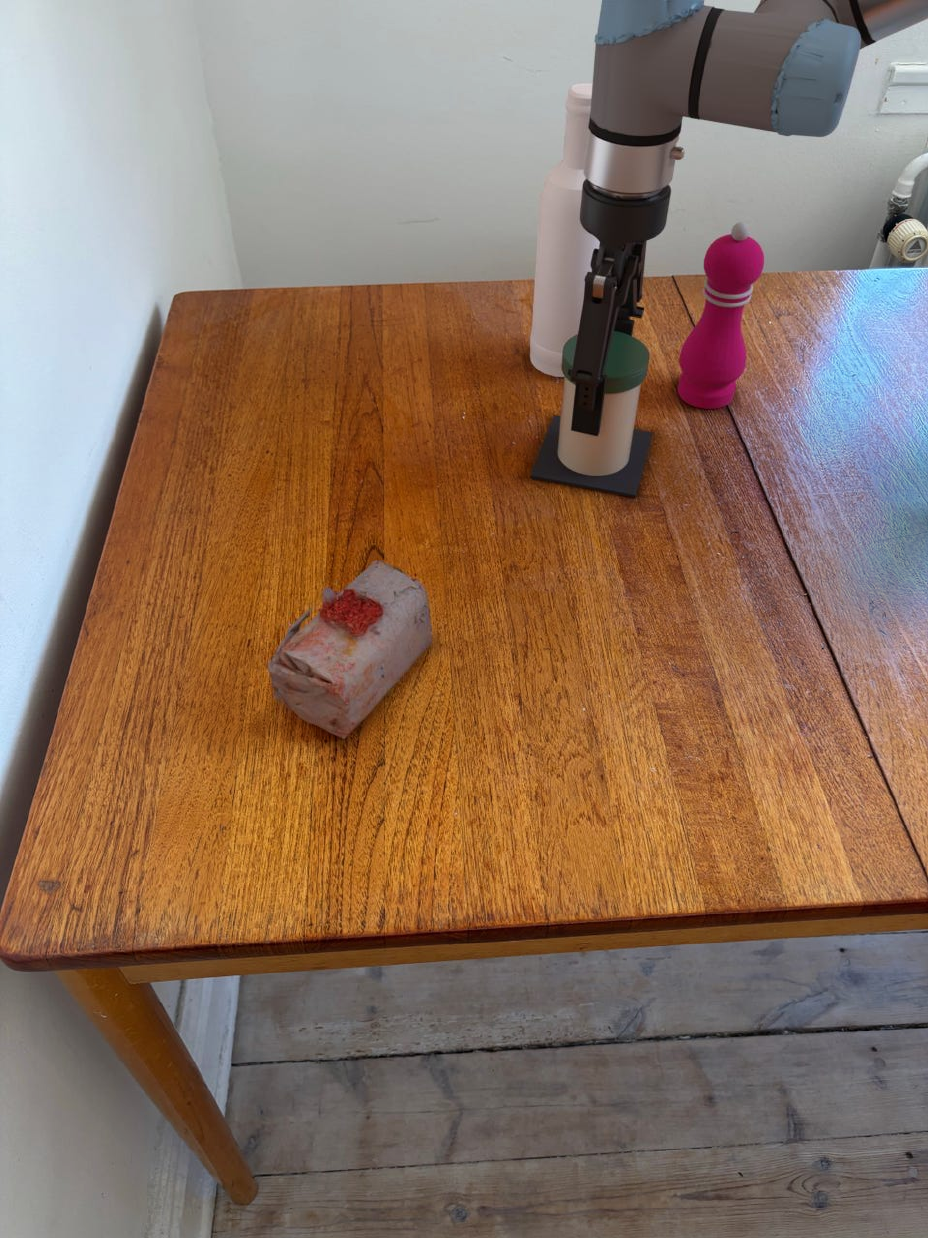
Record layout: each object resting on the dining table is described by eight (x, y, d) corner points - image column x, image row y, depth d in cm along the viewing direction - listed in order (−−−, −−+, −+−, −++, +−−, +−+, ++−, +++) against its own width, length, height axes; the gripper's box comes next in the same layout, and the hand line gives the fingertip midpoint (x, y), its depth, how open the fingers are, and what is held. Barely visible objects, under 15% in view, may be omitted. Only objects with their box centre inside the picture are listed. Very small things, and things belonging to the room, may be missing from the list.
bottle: (515, 358, 119) (528, 86, 97) (561, 334, 123) (584, 67, 101) (563, 386, 115) (589, 111, 93) (610, 361, 119) (645, 90, 97)
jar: (635, 438, 108) (650, 344, 100) (622, 482, 103) (637, 386, 95) (565, 426, 109) (575, 332, 101) (550, 468, 104) (558, 372, 96)
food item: (346, 757, 80) (335, 677, 73) (269, 713, 83) (251, 632, 76) (441, 649, 88) (440, 567, 81) (368, 612, 91) (360, 530, 84)
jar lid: (571, 339, 102) (573, 323, 101) (653, 352, 101) (656, 336, 99) (552, 384, 97) (553, 368, 95) (638, 399, 95) (641, 383, 94)
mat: (652, 435, 109) (653, 432, 109) (635, 498, 102) (635, 495, 102) (553, 417, 111) (553, 414, 111) (529, 478, 104) (529, 474, 104)
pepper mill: (679, 412, 112) (713, 240, 97) (668, 375, 117) (699, 206, 102) (743, 411, 112) (787, 240, 98) (729, 375, 117) (769, 206, 103)
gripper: (638, 246, 77) (606, 476, 94) (698, 138, 92) (661, 353, 108) (545, 230, 79) (529, 458, 95) (618, 125, 93) (593, 339, 110)
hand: (599, 402), depth 102 cm, fingers open, 10 cm apart
